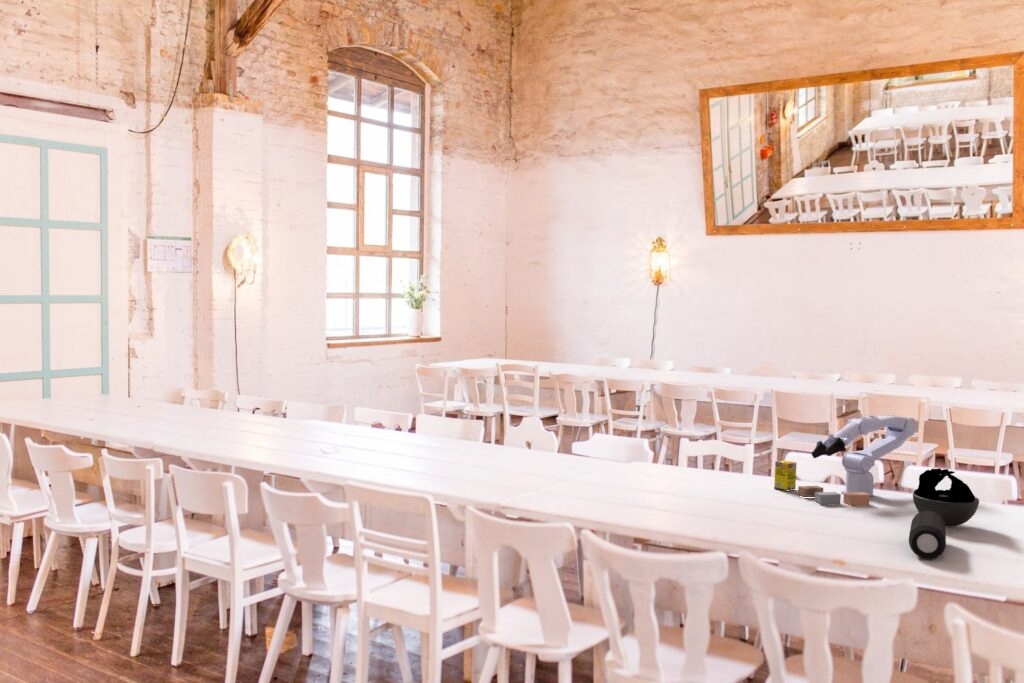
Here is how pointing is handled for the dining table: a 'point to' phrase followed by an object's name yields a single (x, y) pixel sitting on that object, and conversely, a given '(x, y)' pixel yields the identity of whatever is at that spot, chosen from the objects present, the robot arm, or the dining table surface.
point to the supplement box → (785, 475)
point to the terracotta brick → (856, 498)
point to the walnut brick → (809, 490)
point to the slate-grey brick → (827, 498)
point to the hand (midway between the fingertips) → (819, 454)
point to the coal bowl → (945, 497)
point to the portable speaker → (927, 535)
